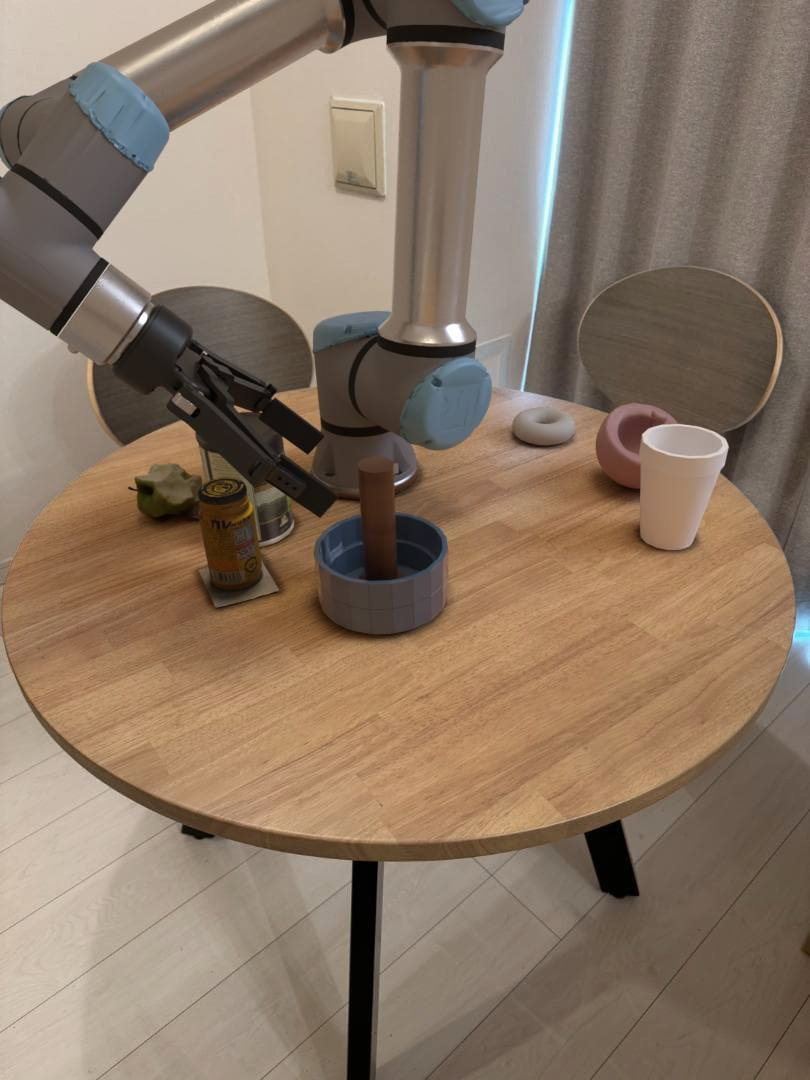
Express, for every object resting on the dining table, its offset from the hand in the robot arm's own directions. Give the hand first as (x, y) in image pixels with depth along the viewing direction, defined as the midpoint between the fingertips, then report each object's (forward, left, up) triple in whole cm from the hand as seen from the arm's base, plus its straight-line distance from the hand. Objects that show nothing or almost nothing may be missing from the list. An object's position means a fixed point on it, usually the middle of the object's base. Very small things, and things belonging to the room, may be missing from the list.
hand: (322, 473), depth 73 cm
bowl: (-1, +5, -16) cm, 17 cm away
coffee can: (-17, -12, -16) cm, 26 cm away
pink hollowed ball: (-26, +40, -16) cm, 51 cm away
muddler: (-1, +5, -16) cm, 17 cm away
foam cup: (-12, +40, -16) cm, 45 cm away
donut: (-43, +30, -16) cm, 55 cm away
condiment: (-5, -12, -16) cm, 21 cm away
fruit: (-22, -24, -16) cm, 36 cm away
